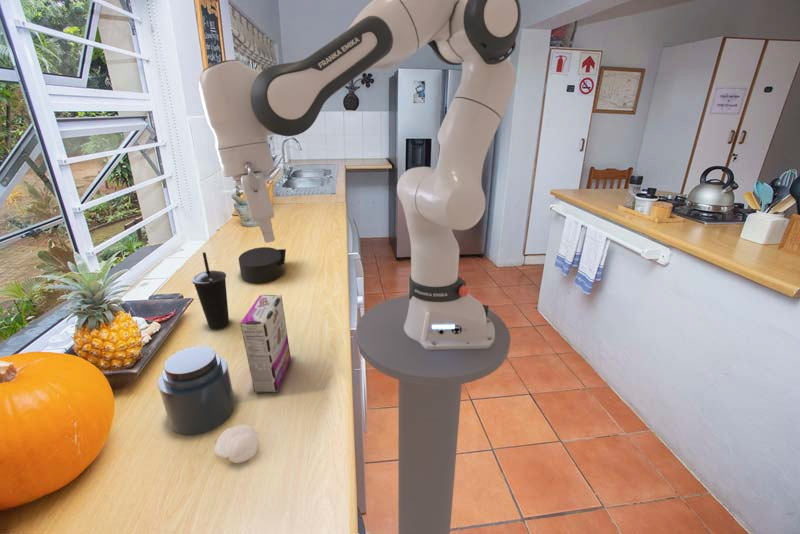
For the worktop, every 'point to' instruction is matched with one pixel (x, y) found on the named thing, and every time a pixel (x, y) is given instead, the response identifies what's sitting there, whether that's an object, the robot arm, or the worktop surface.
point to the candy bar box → (266, 342)
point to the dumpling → (237, 443)
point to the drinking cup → (212, 296)
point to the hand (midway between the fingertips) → (268, 236)
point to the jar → (196, 391)
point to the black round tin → (261, 265)
